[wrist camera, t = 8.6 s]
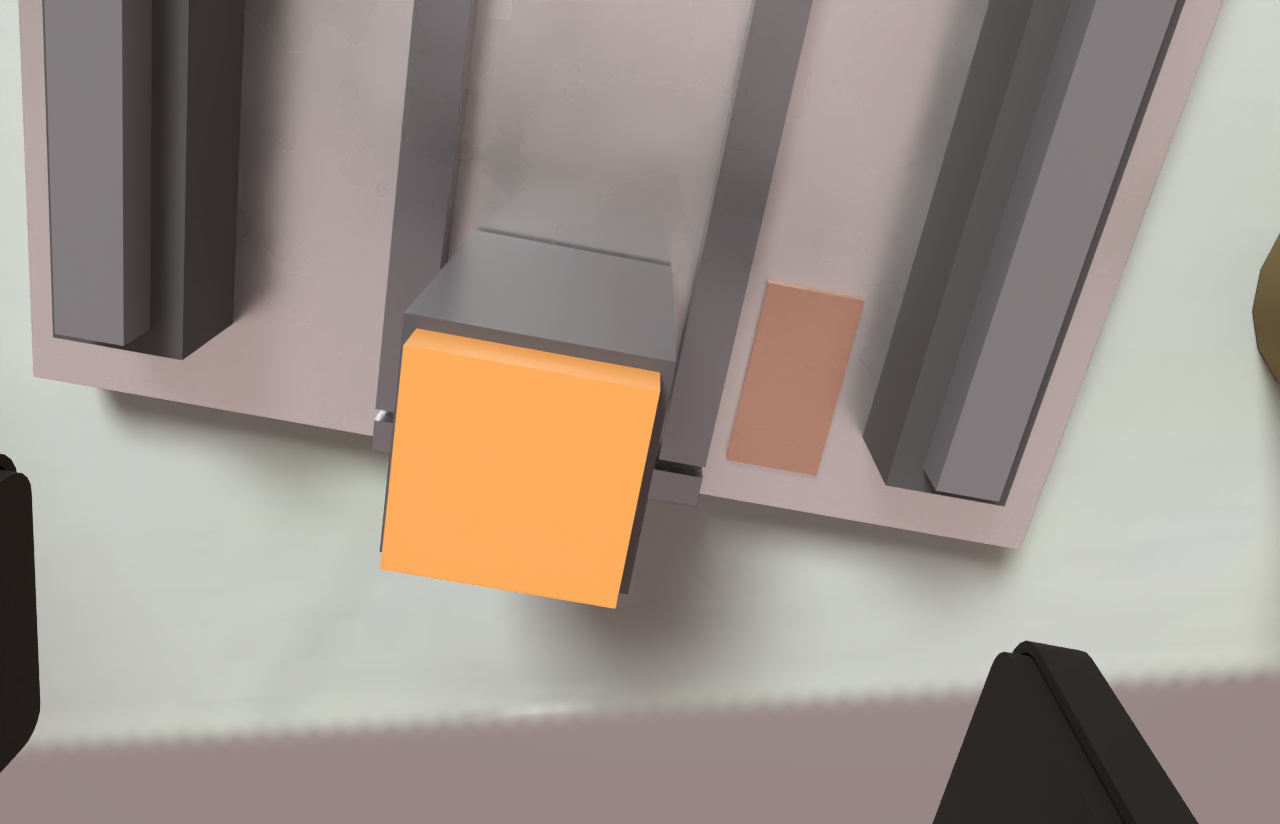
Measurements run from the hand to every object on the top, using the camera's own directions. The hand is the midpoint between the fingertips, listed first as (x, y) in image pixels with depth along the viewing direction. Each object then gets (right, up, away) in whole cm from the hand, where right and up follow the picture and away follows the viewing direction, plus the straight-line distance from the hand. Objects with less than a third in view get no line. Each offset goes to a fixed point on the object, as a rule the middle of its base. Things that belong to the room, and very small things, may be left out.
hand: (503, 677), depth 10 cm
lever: (0, +4, +11) cm, 12 cm away
